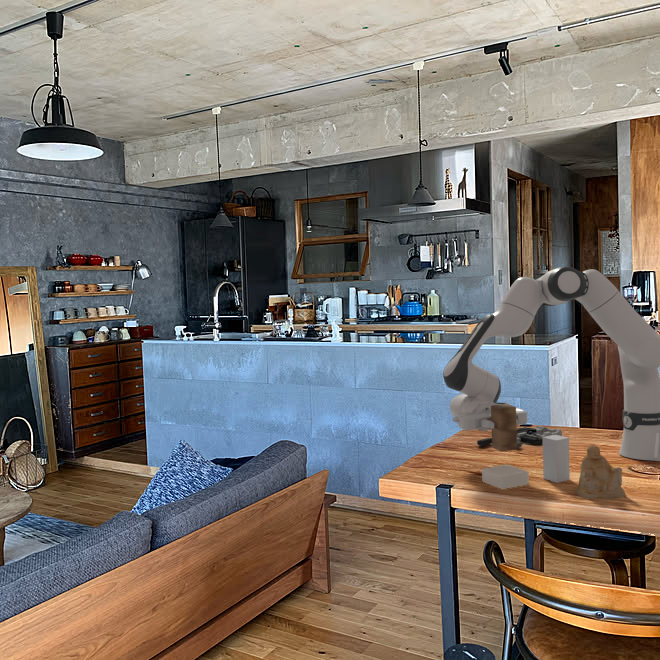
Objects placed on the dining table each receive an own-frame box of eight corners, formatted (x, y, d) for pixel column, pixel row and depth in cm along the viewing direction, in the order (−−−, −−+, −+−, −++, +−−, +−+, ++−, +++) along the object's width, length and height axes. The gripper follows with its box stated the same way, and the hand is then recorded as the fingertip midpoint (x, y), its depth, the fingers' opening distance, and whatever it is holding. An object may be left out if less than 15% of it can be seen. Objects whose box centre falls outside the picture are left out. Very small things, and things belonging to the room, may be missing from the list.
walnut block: (507, 445, 190) (506, 404, 189) (517, 449, 185) (516, 407, 184) (492, 447, 189) (490, 405, 188) (500, 451, 184) (499, 408, 183)
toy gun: (508, 455, 218) (473, 447, 230) (568, 439, 238) (532, 432, 250) (508, 445, 218) (473, 437, 230) (568, 429, 237) (532, 422, 249)
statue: (603, 444, 184) (622, 442, 174) (612, 497, 180) (632, 497, 171) (561, 448, 182) (578, 445, 173) (569, 501, 179) (587, 501, 169)
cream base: (507, 477, 193) (507, 464, 193) (528, 485, 185) (528, 471, 185) (482, 482, 190) (481, 469, 189) (502, 491, 181) (502, 476, 181)
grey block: (555, 475, 192) (554, 434, 192) (569, 479, 188) (568, 437, 187) (543, 478, 190) (542, 437, 189) (557, 482, 186) (556, 440, 185)
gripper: (449, 408, 196) (470, 416, 183) (512, 402, 201) (537, 410, 188) (450, 429, 196) (471, 439, 183) (512, 422, 201) (537, 432, 188)
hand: (505, 424), depth 185 cm, fingers closed on walnut block, 5 cm apart
